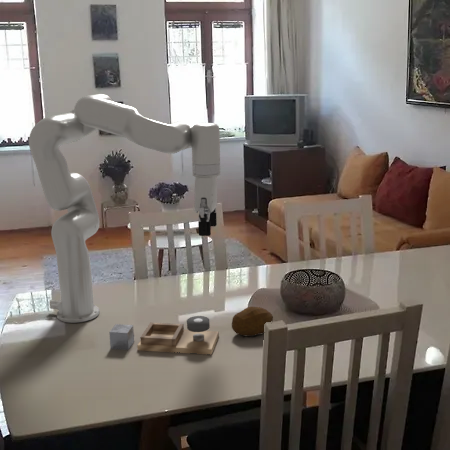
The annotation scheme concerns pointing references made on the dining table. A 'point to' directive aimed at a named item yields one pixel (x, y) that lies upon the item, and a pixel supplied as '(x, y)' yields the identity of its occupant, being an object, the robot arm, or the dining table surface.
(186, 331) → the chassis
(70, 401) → the dining table surface
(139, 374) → the dining table surface
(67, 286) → the robot arm
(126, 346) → the grey stone cube
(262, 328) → the potato
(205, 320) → the wheel
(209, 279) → the dining table surface
